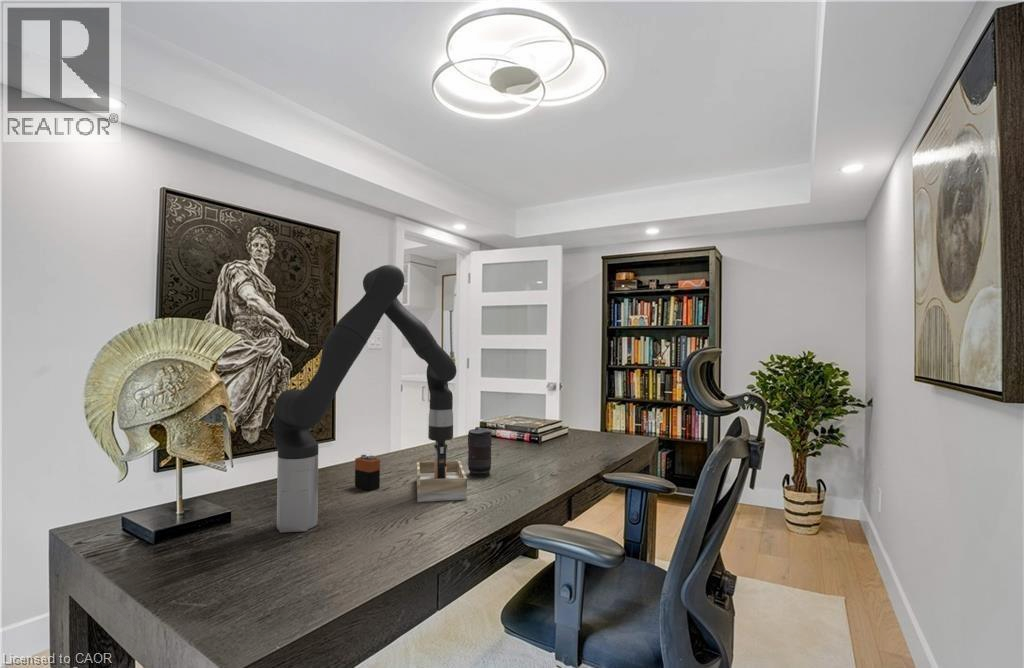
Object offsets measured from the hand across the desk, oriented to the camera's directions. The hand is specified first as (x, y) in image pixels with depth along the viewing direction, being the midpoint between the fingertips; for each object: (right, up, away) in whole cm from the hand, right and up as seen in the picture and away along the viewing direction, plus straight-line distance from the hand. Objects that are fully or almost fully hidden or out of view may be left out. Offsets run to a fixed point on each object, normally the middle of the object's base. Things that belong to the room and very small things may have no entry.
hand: (440, 476), depth 157 cm
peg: (0, -4, 0) cm, 4 cm away
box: (0, -4, 0) cm, 4 cm away
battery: (-23, -4, +1) cm, 23 cm away
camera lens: (+11, -4, +17) cm, 21 cm away
